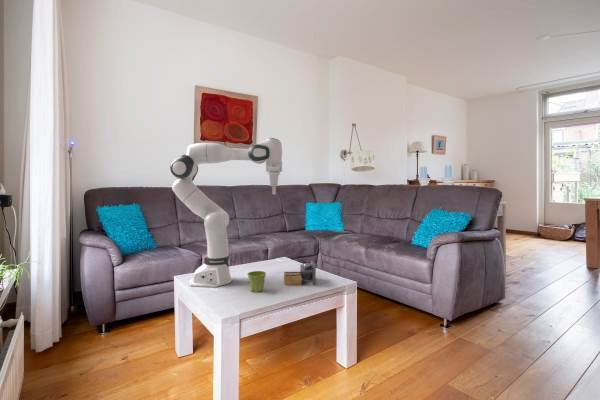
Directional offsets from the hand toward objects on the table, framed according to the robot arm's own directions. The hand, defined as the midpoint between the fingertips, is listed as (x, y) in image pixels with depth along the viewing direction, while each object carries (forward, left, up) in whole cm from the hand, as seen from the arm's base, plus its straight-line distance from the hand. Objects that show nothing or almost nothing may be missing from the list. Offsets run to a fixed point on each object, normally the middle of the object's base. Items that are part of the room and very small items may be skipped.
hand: (274, 194), depth 175 cm
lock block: (+10, -4, -48) cm, 49 cm away
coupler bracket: (+19, -4, -48) cm, 52 cm away
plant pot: (-9, -15, -48) cm, 51 cm away
